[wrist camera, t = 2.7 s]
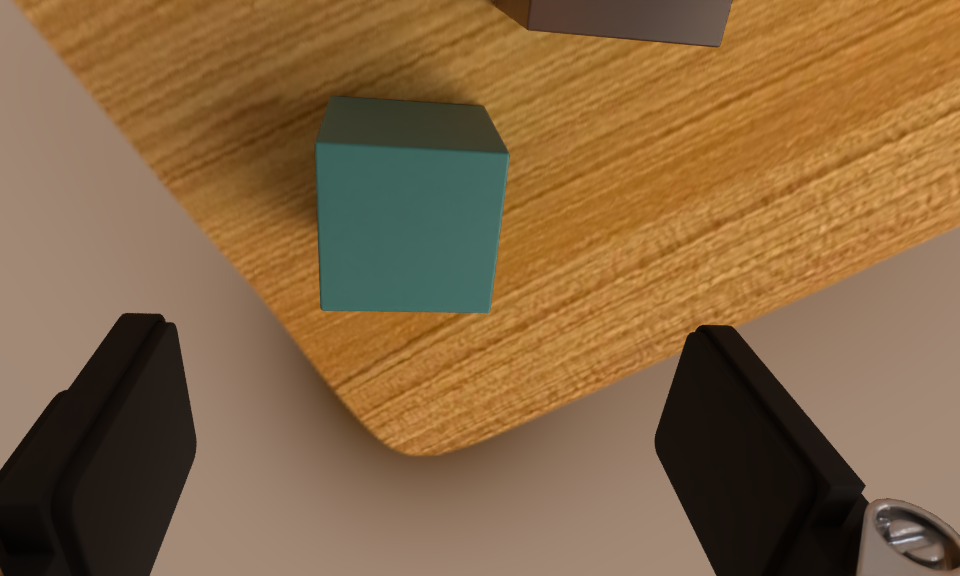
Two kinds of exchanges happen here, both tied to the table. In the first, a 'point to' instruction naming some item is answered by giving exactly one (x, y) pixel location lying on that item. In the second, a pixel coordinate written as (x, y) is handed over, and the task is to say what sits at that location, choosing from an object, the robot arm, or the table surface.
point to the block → (626, 18)
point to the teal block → (408, 206)
